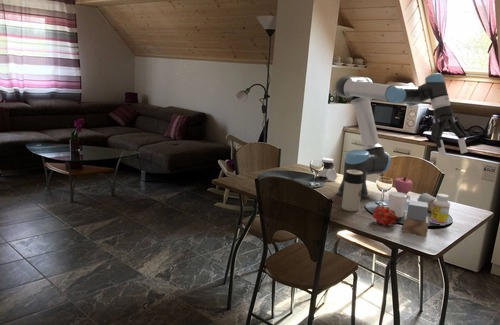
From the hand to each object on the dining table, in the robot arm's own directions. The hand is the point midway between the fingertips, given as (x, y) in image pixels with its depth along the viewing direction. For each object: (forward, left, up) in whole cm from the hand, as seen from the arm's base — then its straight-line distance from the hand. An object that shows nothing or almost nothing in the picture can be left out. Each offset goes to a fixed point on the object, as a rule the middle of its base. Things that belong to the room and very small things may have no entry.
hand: (453, 154), depth 182 cm
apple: (-18, +33, -30) cm, 49 cm away
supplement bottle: (-2, -7, -30) cm, 31 cm away
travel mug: (-40, -8, -30) cm, 51 cm away
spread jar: (-60, +43, -30) cm, 80 cm away
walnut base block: (-12, -23, -30) cm, 40 cm away
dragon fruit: (-24, -21, -30) cm, 44 cm away
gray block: (-12, -23, -24) cm, 35 cm away
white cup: (-20, -6, -30) cm, 37 cm away
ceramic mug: (-5, +11, -30) cm, 33 cm away
